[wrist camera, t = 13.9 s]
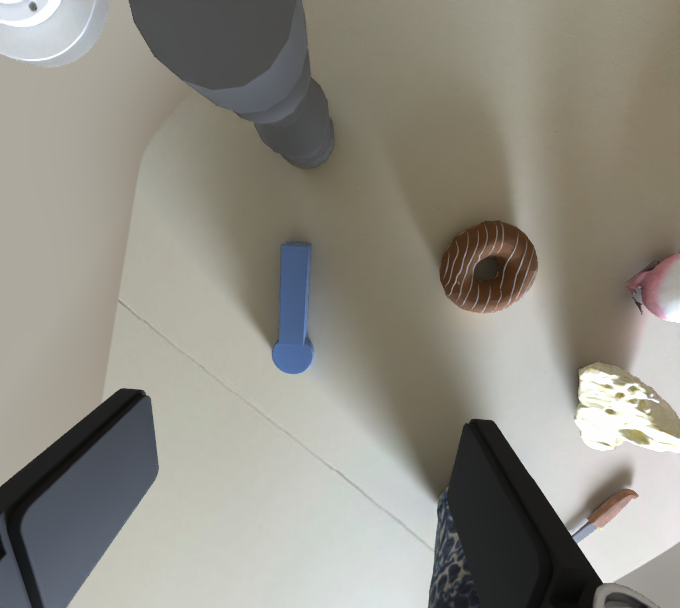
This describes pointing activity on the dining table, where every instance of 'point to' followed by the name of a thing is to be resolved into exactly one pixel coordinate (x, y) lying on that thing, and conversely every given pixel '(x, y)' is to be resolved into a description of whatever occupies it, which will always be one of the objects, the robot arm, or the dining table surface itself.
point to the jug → (450, 566)
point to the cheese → (623, 411)
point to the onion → (659, 288)
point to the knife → (605, 513)
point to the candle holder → (246, 66)
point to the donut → (512, 273)
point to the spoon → (294, 310)
